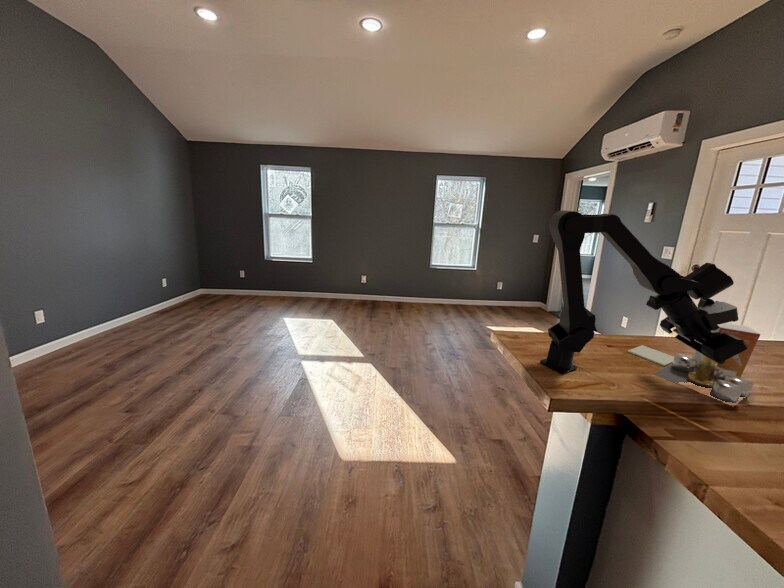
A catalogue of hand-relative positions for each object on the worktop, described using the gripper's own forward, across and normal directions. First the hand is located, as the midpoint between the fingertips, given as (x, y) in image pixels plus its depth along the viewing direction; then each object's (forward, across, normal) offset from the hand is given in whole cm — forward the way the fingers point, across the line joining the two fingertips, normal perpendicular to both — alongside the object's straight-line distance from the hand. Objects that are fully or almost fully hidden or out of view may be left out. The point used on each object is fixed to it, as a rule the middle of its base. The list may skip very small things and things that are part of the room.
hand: (716, 359), depth 77 cm
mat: (+4, +1, +5) cm, 7 cm away
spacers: (+4, +1, +5) cm, 7 cm away
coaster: (+2, +14, +8) cm, 16 cm away
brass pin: (+4, 0, +6) cm, 7 cm away
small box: (+11, +10, -1) cm, 15 cm away
